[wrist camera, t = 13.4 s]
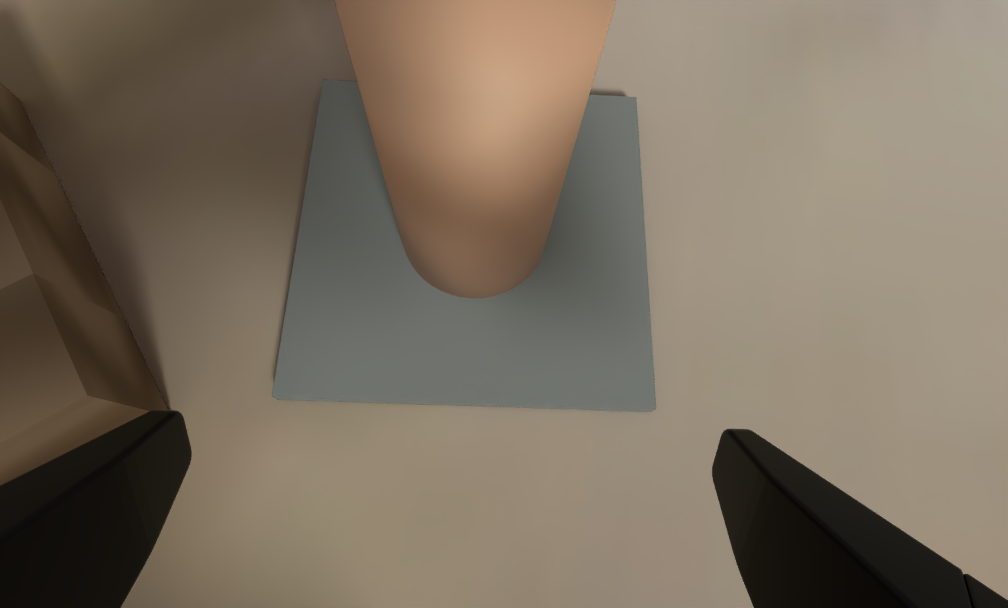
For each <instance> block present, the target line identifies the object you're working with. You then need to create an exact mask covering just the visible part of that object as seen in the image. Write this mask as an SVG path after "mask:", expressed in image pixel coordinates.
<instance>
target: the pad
mask: <svg viewBox="0 0 1008 608" xmlns="http://www.w3.org/2000/svg"><path fill="white" fill-rule="evenodd" d="M272 397H274V398H276V399H278V400H308V401H338V402H368V403H399V404H429V405H460V406H490V407H521V408H551V409H582V410H612V411H643V412H651V411H653V410H655V409H656V398H655V382H654V367H653V351H652V335H651V320H650V304H649V288H648V273H647V257H646V241H645V226H644V210H643V195H642V179H641V163H640V148H639V132H638V116H637V101H636V97H626V96H608V95H590V94H589V97H588V101H587V104H586V108H585V111H584V115H583V118H582V121H581V125H580V128H579V132H578V135H577V138H576V142H575V145H574V149H573V152H572V156H571V159H570V162H569V166H568V169H567V173H566V176H565V180H564V183H563V186H562V190H561V193H560V197H559V200H558V203H557V207H556V210H555V214H554V217H553V221H552V224H551V227H550V231H549V234H548V238H547V241H546V244H545V248H544V251H543V254H542V257H541V259H540V261H539V263H538V265H537V266H536V268H535V269H534V270H533V272H532V273H531V274H530V275H529V276H528V277H527V278H526V279H525V280H524V281H523V282H522V283H520V284H519V285H517V286H516V287H514V288H513V289H511V290H509V291H507V292H504V293H502V294H499V295H495V296H491V297H486V298H464V297H458V296H454V295H451V294H448V293H445V292H443V291H440V290H439V289H437V288H435V287H433V286H432V285H430V284H429V283H428V282H426V281H425V280H424V279H423V278H422V277H421V276H420V275H419V274H418V273H417V272H416V270H415V269H414V268H413V266H412V265H411V263H410V261H409V259H408V257H407V255H406V252H405V249H404V246H403V242H402V239H401V235H400V232H399V228H398V225H397V221H396V218H395V214H394V210H393V207H392V203H391V200H390V196H389V193H388V189H387V186H386V182H385V179H384V175H383V171H382V168H381V164H380V161H379V157H378V154H377V150H376V147H375V143H374V139H373V136H372V132H371V129H370V125H369V122H368V118H367V115H366V111H365V108H364V104H363V100H362V97H361V93H360V90H359V86H358V83H357V81H343V80H326V79H323V81H322V88H321V94H320V100H319V106H318V112H317V119H316V125H315V131H314V137H313V144H312V150H311V156H310V162H309V168H308V175H307V181H306V187H305V193H304V199H303V206H302V212H301V218H300V224H299V230H298V237H297V243H296V249H295V255H294V262H293V268H292V274H291V280H290V286H289V293H288V299H287V305H286V311H285V317H284V324H283V330H282V336H281V342H280V348H279V355H278V361H277V367H276V373H275V380H274V386H273V392H272Z"/></svg>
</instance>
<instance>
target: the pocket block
mask: <svg viewBox="0 0 1008 608" xmlns="http://www.w3.org/2000/svg"><path fill="white" fill-rule="evenodd" d="M152 410H168V408H167V406H166V404H165V402H164V400H163V398H162V395H161V393H160V391H159V389H158V387H157V385H156V383H155V381H154V379H153V377H152V375H151V373H150V371H149V368H148V366H147V364H146V362H145V360H144V358H143V356H142V354H141V352H140V350H139V348H138V346H137V343H136V341H135V339H134V337H133V335H132V333H131V331H130V329H129V327H128V325H127V323H126V321H125V318H124V316H123V314H122V312H121V310H120V308H119V306H118V304H117V302H116V300H115V298H114V296H113V293H112V291H111V289H110V287H109V285H108V283H107V281H106V279H105V277H104V275H103V273H102V271H101V269H100V266H99V264H98V262H97V260H96V258H95V256H94V254H93V252H92V250H91V248H90V246H89V244H88V241H87V239H86V237H85V235H84V233H83V231H82V229H81V227H80V225H79V223H78V221H77V219H76V216H75V214H74V212H73V210H72V208H71V206H70V204H69V202H68V200H67V198H66V196H65V194H64V192H63V189H62V187H61V185H60V183H59V181H58V179H57V177H56V175H55V173H54V171H53V169H52V167H51V164H50V162H49V160H48V158H47V156H46V154H45V152H44V150H43V148H42V146H41V144H40V142H39V139H38V137H37V135H36V133H35V131H34V129H33V127H32V125H31V123H30V121H29V119H28V117H27V114H26V112H25V110H24V108H23V106H22V104H21V102H20V100H19V99H18V98H17V97H16V96H15V95H14V94H13V93H11V92H10V91H9V90H8V89H7V88H6V87H5V86H3V85H2V84H1V83H0V485H2V484H4V483H6V482H8V481H10V480H12V479H14V478H16V477H18V476H20V475H22V474H24V473H26V472H28V471H30V470H32V469H34V468H36V467H38V466H40V465H42V464H45V463H47V462H49V461H51V460H53V459H55V458H57V457H59V456H61V455H63V454H65V453H67V452H69V451H71V450H73V449H75V448H77V447H79V446H81V445H83V444H85V443H87V442H89V441H91V440H93V439H95V438H97V437H99V436H101V435H103V434H105V433H107V432H109V431H111V430H113V429H115V428H117V427H119V426H121V425H123V424H125V423H127V422H129V421H131V420H133V419H135V418H137V417H139V416H141V415H143V414H145V413H147V412H149V411H152Z"/></svg>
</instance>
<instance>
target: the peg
mask: <svg viewBox="0 0 1008 608" xmlns="http://www.w3.org/2000/svg"><path fill="white" fill-rule="evenodd" d="M615 2H616V0H335V4H336V8H337V12H338V15H339V19H340V22H341V26H342V29H343V33H344V37H345V40H346V44H347V47H348V51H349V54H350V58H351V61H352V65H353V69H354V72H355V76H356V79H357V83H358V86H359V90H360V93H361V97H362V100H363V104H364V108H365V111H366V115H367V118H368V122H369V125H370V129H371V132H372V136H373V139H374V143H375V147H376V150H377V154H378V157H379V161H380V164H381V168H382V171H383V175H384V179H385V182H386V186H387V189H388V193H389V196H390V200H391V203H392V207H393V210H394V214H395V218H396V221H397V225H398V228H399V232H400V235H401V239H402V242H403V246H404V249H405V252H406V255H407V257H408V259H409V261H410V263H411V265H412V266H413V268H414V269H415V270H416V272H417V273H418V274H419V275H420V276H421V277H422V278H423V279H424V280H425V281H426V282H428V283H429V284H430V285H432V286H433V287H435V288H437V289H439V290H440V291H443V292H445V293H448V294H451V295H454V296H458V297H464V298H486V297H491V296H495V295H499V294H502V293H504V292H507V291H509V290H511V289H513V288H514V287H516V286H517V285H519V284H520V283H522V282H523V281H524V280H525V279H526V278H527V277H528V276H529V275H530V274H531V273H532V272H533V270H534V269H535V268H536V266H537V265H538V263H539V261H540V259H541V257H542V254H543V251H544V248H545V244H546V241H547V238H548V234H549V231H550V227H551V224H552V221H553V217H554V214H555V210H556V207H557V203H558V200H559V197H560V193H561V190H562V186H563V183H564V180H565V176H566V173H567V169H568V166H569V162H570V159H571V156H572V152H573V149H574V145H575V142H576V138H577V135H578V132H579V128H580V125H581V121H582V118H583V115H584V111H585V108H586V104H587V101H588V97H589V94H590V91H591V87H592V84H593V80H594V77H595V74H596V70H597V67H598V63H599V60H600V56H601V53H602V50H603V46H604V43H605V39H606V36H607V33H608V29H609V26H610V22H611V19H612V15H613V11H614V8H615Z"/></svg>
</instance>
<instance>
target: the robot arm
mask: <svg viewBox="0 0 1008 608" xmlns="http://www.w3.org/2000/svg"><path fill="white" fill-rule="evenodd" d="M190 461H191V446H190V442H189V438H188V434H187V430H186V426H185V421H184V418H183V416H182V414H181V413H180V412H178V411H175V410H152V411H149V412H147V413H145V414H143V415H141V416H139V417H137V418H135V419H133V420H131V421H129V422H127V423H125V424H123V425H121V426H119V427H117V428H115V429H113V430H111V431H109V432H107V433H105V434H103V435H101V436H99V437H97V438H95V439H93V440H91V441H89V442H87V443H85V444H83V445H81V446H79V447H77V448H75V449H73V450H71V451H69V452H67V453H65V454H63V455H61V456H59V457H57V458H55V459H53V460H51V461H49V462H47V463H45V464H42V465H40V466H38V467H36V468H34V469H32V470H30V471H28V472H26V473H24V474H22V475H20V476H18V477H16V478H14V479H12V480H10V481H8V482H6V483H4V484H2V485H0V608H121V606H122V604H123V602H124V600H125V599H126V597H127V595H128V593H129V592H130V590H131V588H132V586H133V584H134V583H135V581H136V579H137V577H138V576H139V574H140V572H141V570H142V568H143V567H144V565H145V563H146V561H147V559H148V557H149V555H150V554H151V552H152V550H153V548H154V545H155V543H156V541H157V539H158V537H159V535H160V532H161V530H162V528H163V525H164V523H165V521H166V518H167V516H168V514H169V511H170V509H171V507H172V505H173V502H174V500H175V498H176V495H177V493H178V491H179V488H180V486H181V484H182V481H183V479H184V477H185V474H186V472H187V470H188V468H189V465H190ZM712 477H713V482H714V485H715V489H716V493H717V496H718V500H719V503H720V507H721V510H722V514H723V518H724V521H725V525H726V528H727V532H728V535H729V539H730V543H731V546H732V550H733V553H734V556H735V559H736V563H737V566H738V568H739V571H740V574H741V576H742V579H743V582H744V584H745V587H746V589H747V592H748V594H749V597H750V599H751V602H752V604H753V607H754V608H1008V600H1006V599H1005V598H1003V597H1002V596H1000V595H999V594H997V593H996V592H994V591H993V590H991V589H990V588H988V587H987V586H985V585H984V584H982V583H981V582H979V581H978V580H976V579H975V578H973V577H972V576H970V575H969V574H963V572H962V570H961V569H959V568H958V567H956V566H955V565H953V564H952V563H950V562H949V561H947V560H946V559H944V558H943V557H941V556H940V555H938V554H937V553H935V552H934V551H932V550H931V549H929V548H928V547H926V546H925V545H923V544H922V543H920V542H919V541H917V540H916V539H914V538H913V537H911V536H910V535H908V534H907V533H905V532H904V531H902V530H901V529H899V528H898V527H896V526H895V525H893V524H892V523H890V522H889V521H887V520H886V519H884V518H883V517H881V516H880V515H878V514H876V513H875V512H873V511H872V510H870V509H869V508H867V507H866V506H864V505H863V504H861V503H860V502H858V501H857V500H855V499H854V498H852V497H851V496H849V495H848V494H846V493H845V492H843V491H842V490H840V489H839V488H837V487H836V486H834V485H833V484H831V483H830V482H828V481H827V480H825V479H824V478H822V477H821V476H819V475H818V474H816V473H815V472H813V471H812V470H810V469H809V468H807V467H806V466H804V465H803V464H801V463H800V462H798V461H797V460H795V459H794V458H792V457H791V456H789V455H787V454H786V453H784V452H783V451H781V450H780V449H778V448H777V447H775V446H774V445H772V444H771V443H769V442H768V441H766V440H765V439H763V438H762V437H760V436H759V435H757V434H756V433H754V432H753V431H751V430H748V429H726V430H725V431H724V432H723V433H722V435H721V438H720V442H719V445H718V449H717V452H716V456H715V459H714V463H713V467H712Z"/></svg>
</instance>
